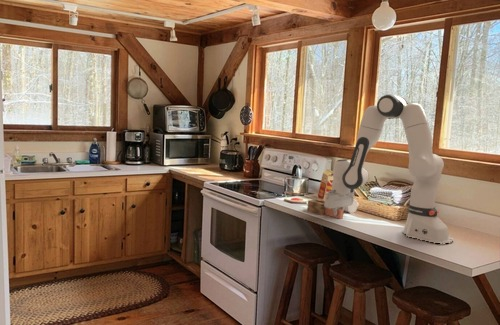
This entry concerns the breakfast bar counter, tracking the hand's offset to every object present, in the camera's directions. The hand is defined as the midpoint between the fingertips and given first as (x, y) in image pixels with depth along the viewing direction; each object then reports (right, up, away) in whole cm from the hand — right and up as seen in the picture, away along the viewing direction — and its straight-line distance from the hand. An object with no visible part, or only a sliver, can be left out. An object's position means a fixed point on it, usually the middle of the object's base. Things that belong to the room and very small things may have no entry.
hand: (337, 214), depth 237 cm
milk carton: (+2, +4, +45) cm, 46 cm away
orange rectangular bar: (-3, -1, +4) cm, 5 cm away
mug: (+9, 0, +18) cm, 20 cm away
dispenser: (-8, 0, +10) cm, 13 cm away
